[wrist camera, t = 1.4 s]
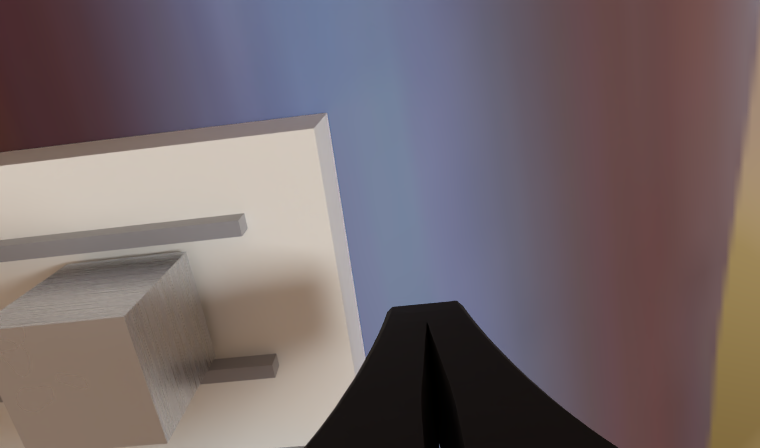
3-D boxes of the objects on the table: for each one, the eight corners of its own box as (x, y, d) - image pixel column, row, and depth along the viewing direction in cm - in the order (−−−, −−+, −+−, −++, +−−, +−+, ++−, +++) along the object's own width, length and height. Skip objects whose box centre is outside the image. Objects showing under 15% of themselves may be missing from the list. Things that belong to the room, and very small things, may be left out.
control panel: (392, 533, 19) (393, 655, 15) (-50, 564, 20) (-150, 685, 16) (327, 112, 14) (303, 140, 10) (-278, 186, 15) (-510, 237, 11)
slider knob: (215, 355, 13) (167, 443, 10) (105, 366, 13) (28, 455, 10) (186, 251, 12) (123, 316, 9) (67, 263, 12) (-31, 332, 9)
